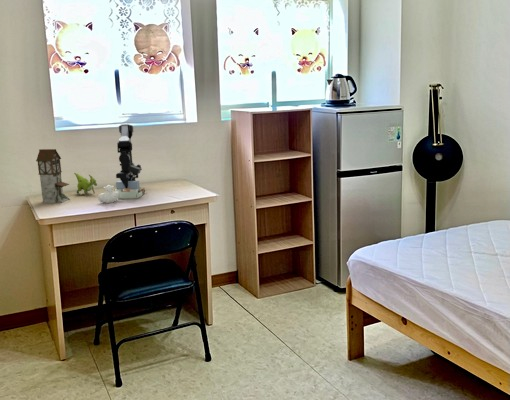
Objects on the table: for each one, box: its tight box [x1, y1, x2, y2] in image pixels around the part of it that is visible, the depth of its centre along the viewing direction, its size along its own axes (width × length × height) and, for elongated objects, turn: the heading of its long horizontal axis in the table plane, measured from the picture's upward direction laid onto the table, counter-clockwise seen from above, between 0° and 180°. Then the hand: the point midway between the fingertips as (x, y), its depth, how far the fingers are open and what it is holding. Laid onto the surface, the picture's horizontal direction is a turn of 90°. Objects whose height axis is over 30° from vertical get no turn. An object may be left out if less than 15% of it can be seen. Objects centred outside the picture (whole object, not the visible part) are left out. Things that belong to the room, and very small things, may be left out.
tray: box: [118, 191, 143, 200], centre depth 323 cm, size 9×17×4 cm, turn 81°
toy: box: [73, 172, 98, 196], centre depth 336 cm, size 8×21×15 cm
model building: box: [35, 148, 71, 204], centre depth 316 cm, size 10×15×30 cm
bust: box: [97, 184, 119, 204], centre depth 309 cm, size 12×8×11 cm
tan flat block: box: [122, 187, 146, 194], centre depth 331 cm, size 8×14×3 cm, turn 81°
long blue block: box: [115, 180, 141, 191], centre depth 326 cm, size 4×13×6 cm, turn 82°
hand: (128, 187), depth 326 cm, fingers open, 4 cm apart
